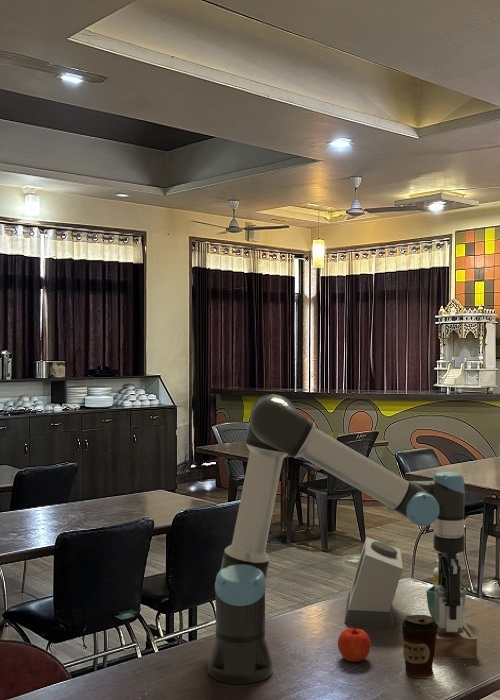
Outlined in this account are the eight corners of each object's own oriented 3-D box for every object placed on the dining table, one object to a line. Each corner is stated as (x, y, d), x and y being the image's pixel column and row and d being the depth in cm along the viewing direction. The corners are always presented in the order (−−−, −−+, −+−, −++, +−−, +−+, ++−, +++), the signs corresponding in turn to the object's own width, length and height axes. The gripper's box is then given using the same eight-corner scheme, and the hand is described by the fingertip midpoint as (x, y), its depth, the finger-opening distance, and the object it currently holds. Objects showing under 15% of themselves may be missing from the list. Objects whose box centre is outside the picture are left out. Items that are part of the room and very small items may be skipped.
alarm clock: (347, 600, 237) (347, 532, 236) (400, 602, 234) (400, 534, 234) (344, 623, 216) (344, 550, 216) (402, 627, 214) (402, 552, 214)
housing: (463, 632, 195) (463, 592, 194) (438, 632, 195) (439, 592, 195) (457, 624, 201) (457, 585, 200) (433, 623, 201) (434, 584, 201)
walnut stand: (431, 658, 192) (431, 638, 192) (422, 641, 203) (422, 622, 203) (476, 658, 192) (476, 638, 192) (465, 641, 203) (465, 622, 203)
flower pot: (467, 619, 219) (467, 587, 219) (457, 629, 212) (457, 596, 212) (436, 614, 224) (436, 582, 224) (425, 623, 217) (425, 590, 217)
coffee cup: (430, 685, 177) (430, 627, 177) (395, 676, 182) (395, 620, 181) (442, 671, 185) (443, 616, 184) (409, 663, 189) (409, 609, 189)
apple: (350, 650, 197) (350, 618, 197) (377, 659, 192) (377, 626, 192) (330, 659, 192) (330, 626, 192) (357, 668, 186) (357, 635, 186)
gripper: (474, 544, 188) (473, 640, 188) (454, 526, 207) (454, 613, 207) (442, 544, 188) (442, 640, 188) (426, 525, 207) (426, 613, 207)
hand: (448, 626), depth 198 cm, fingers closed on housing, 6 cm apart
